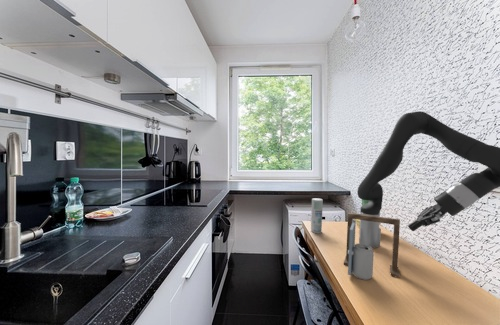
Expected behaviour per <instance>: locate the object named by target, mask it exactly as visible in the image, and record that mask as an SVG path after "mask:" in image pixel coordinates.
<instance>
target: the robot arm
mask: <svg viewBox="0 0 500 325" xmlns="http://www.w3.org/2000/svg"><path fill="white" fill-rule="evenodd" d="M419 134H420V135H421V134H423V135H426V136H430V137H432V138H434V139H435V140H437V141H438V142H440V143H441V145H443V146H444V148H446V149H447V150H448V151H450V152H451V153H453V154H455V155H456V156H459V157H460V158H463V159H464V160H467V161H469V162H472V163H478V164H481V165H483V166H484V167H486V168H485V169H484V170H482V171H480V172H473V173H471V174H470V175H467V177H465V178H464V179H462V180H461V181H459V182H457V183H455V184H452V185H451V186H450V187H448V188H447V189H445V190H443V191H442V192H441V193H440V194H438V195H436V196H435V197H434V198H433V201H434V202H435V203H436V204H434V205H430V206H427V207H425V208H424V209H423V210H422V211H421V212H420V213H419V214H418V215H417V218H416V219H415V220H413V221H412V222H411V223H409V224H408V225H407V227H408V229H409V230H411V232H415V231H416V230H418V229H419V228H421V227H427V226H430V225H433V224H437V223H440V222H441V219H442V218H443V217H444V215H446V214H447V213H448V214H449V215H450V216H452V217H455V216H456V215H458V214H459V213H460V212H462V211H464V210H465V209H467V208H469V207H471V206H472V205H473V204H475V203H476V202H477V201H478V200H479V199H481V198H483V197H485V196H487V195H488V194H489V193H490V192H493V190H495V189H498V188H500V147H498V146H495V145H490V144H487V143H485V142H483V141H481V140H478V139H476V138H474V137H471V136H469V135H468V134H464V133H462V132H459V131H458V130H456V129H454V128H452V127H450V126H448V125H447V124H444V123H443V122H441V121H439V119H436V117H434V116H433V115H430V114H429V113H428V112H425V111H421V110H420V111H412V112H407V113H406V112H405V113H404V114H402V115H401V116H400V117H399V118H398V119H397V122H396V123H395V126H394V128H393V130H392V133H391V135H390V137H389V138H388V140H387V142H386V144H385V145H384V146H383V149H382V150H381V152H380V154H379V155H378V156H377V158H376V160H375V162H374V164H373V166H372V167H371V169H370V170H369V172H368V173H367V175H366V176H365V177H364V178H363V179H362V181H361V182H360V184H358V187H357V196H358V198H359V200H360V199H361V201H362V200H369V202H368V203H367V204H365V205H363V206H362V205H361V206H360V213H359V214H363V215H371V216H378V217H381V216H380V215H381V211H382V205H383V199H384V198H383V197H384V196H383V195H384V191H383V190H384V189H383V187H382V185H381V183H380V182H382V181H383V180H385V179H386V178H388V177H389V176H391V175H393V173H395V171H396V170H397V169H398V167H399V166H400V165H401V163H402V161H403V159H404V158H403V157H404V148H405V147H406V145H407V144H408V142H409V141H410V139H411V138H412V137H414V135H419ZM359 230H360V231H359V234H358V235H359V236H358V244H365V245H368V246H370V247H371V248H372V249H374V248H375V249H376V248H378V247H381V235H382V229H381V228H380V225H379V222H372V221H365V220H360V229H359Z"/></svg>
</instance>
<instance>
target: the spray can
mask: <svg viewBox="0 0 500 325" xmlns="http://www.w3.org/2000/svg"><path fill="white" fill-rule="evenodd" d="M323 201H324V200H323V199H322V198H319V197H318V198H316V197H315V198H311V212H310V213H311V215H310V216H311V218H310V220H311V221H310V231H311V232H312V233H315V234H320V233H322V231H323V230H322V228H323V227H322V225H323V208H324V207H323V204H324V203H323Z"/></svg>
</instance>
